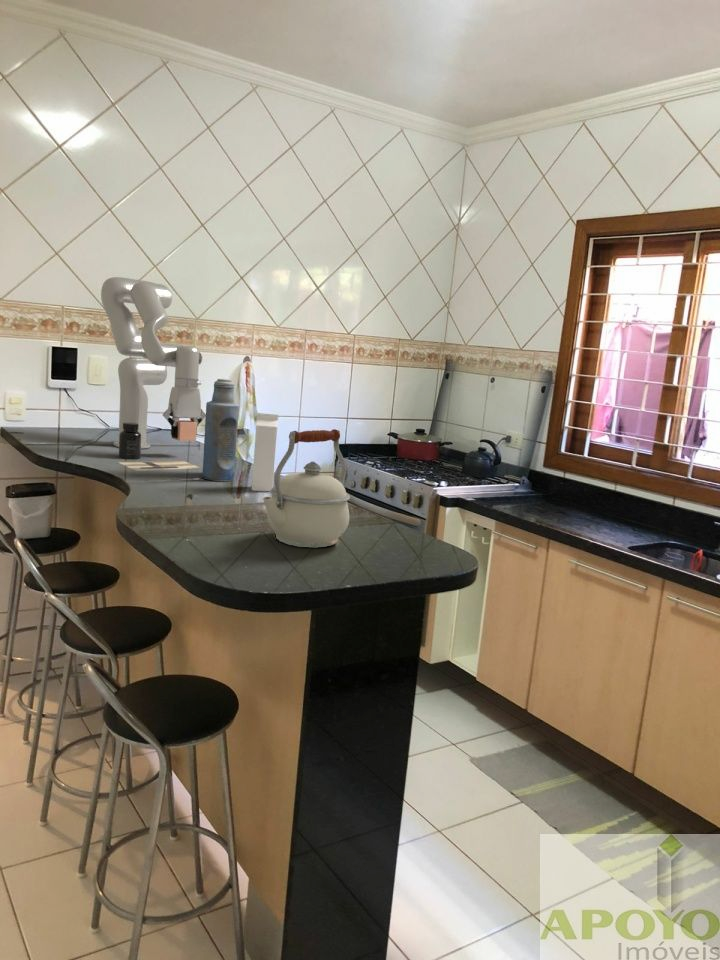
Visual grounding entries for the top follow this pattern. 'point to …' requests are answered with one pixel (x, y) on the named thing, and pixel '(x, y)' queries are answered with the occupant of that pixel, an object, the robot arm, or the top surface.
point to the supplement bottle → (130, 442)
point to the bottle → (220, 433)
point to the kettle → (309, 497)
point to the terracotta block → (186, 430)
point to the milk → (264, 452)
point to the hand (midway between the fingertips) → (183, 437)
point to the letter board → (159, 465)
